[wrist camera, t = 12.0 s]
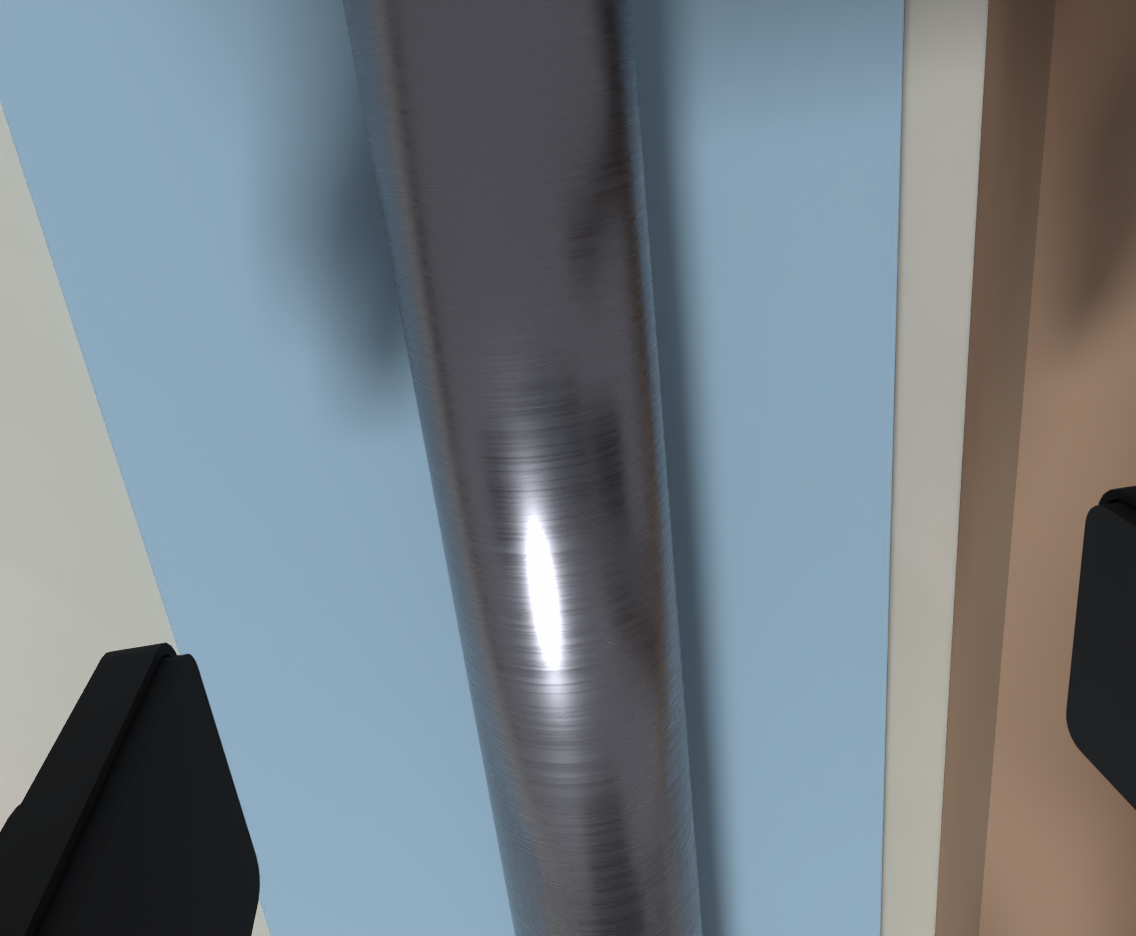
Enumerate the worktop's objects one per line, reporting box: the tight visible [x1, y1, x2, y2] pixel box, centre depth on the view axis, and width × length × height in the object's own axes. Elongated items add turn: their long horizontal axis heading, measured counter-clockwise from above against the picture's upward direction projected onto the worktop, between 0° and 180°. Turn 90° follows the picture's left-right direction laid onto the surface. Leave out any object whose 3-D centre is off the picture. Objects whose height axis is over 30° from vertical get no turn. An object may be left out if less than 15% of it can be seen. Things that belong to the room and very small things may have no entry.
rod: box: [342, 0, 702, 936], centre depth 13 cm, size 28×3×3 cm, turn 6°
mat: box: [0, 0, 904, 936], centre depth 15 cm, size 11×32×1 cm, turn 6°
